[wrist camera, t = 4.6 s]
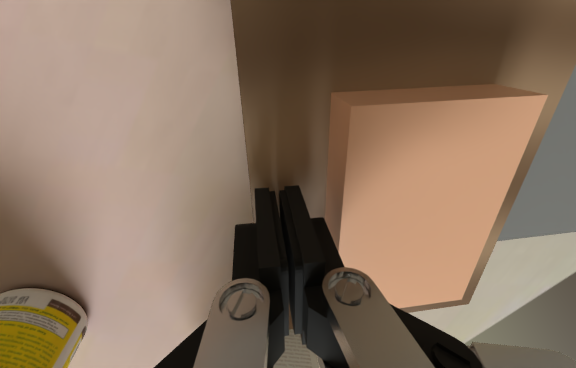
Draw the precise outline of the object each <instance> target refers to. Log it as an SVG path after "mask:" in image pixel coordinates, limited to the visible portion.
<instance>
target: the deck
mask: <svg viewBox="0 0 576 368" xmlns="http://www.w3.org/2000/svg"><path fill="white" fill-rule="evenodd" d="M231 9H232V19H233V28H234V38H235V47H236V57H237V66H238V76H239V85H240V95H241V104H242V114H243V123H244V132H245V142H246V151H247V161H248V170H249V180H250V189H251V199H252V208H253V218H254V223H256V210H255V192H254V188H268V187H269V191H275V195H276V200H277V206H278V211H279V190H284V186H295V185H299V186H300V189H301V192H302V195H303V198H304V201H305V204H306V207H307V209H308V212H309V215H310V218H318V217H323V218H324V220H325V207H326V187H327V167H328V147H329V127H330V107H331V92H350V91H370V90H389V89H408V88H427V87H446V86H465V85H484V84H497V85H502V86H507V87H512V88H517V89H522V90H527V91H532V92H537V93H541V94H546V95H548V97H547V99H546V102H545V104H544V106H543V109H542V111H541V113H540V116H539V118H538V120H537V123H536V125H535V128H534V130H533V132H532V135H531V137H530V139H529V142H528V144H527V146H526V149H525V151H524V154H523V156H522V158H521V161H520V163H519V165H518V168H517V170H516V172H515V175H514V177H513V179H512V182H511V184H510V187H509V189H508V191H507V194H506V196H505V198H504V201H503V203H502V205H501V208H500V210H499V213H498V215H497V217H496V220H495V222H494V224H493V227H492V229H491V231H490V234H489V236H488V239H487V241H486V243H485V246H484V248H483V250H482V253H481V255H480V257H479V260H478V262H477V265H476V267H475V269H474V272H473V274H472V276H471V279H470V281H469V283H468V286H467V288H466V290H465V293H464V295H463V298H462V300H455V301H448V302H441V303H434V304H427V305H420V306H412V307H405V308H399V309H401V310H403V311H405V312H407V313H409V312H416V311H423V310H430V309H437V308H444V307H451V306H458V305H465V304H469V302H470V300H471V298H472V295H473V293H474V291H475V289H476V287H477V284H478V282H479V280H480V278H481V275H482V273H483V271H484V269H485V266H486V264H487V262H488V260H489V257H490V255H491V253H492V251H493V249H494V246H495V244H496V242H497V240H498V237H499V235H500V233H501V231H502V228H503V226H504V224H505V222H506V219H507V217H508V215H509V213H510V211H511V208H512V206H513V204H514V202H515V199H516V197H517V195H518V193H519V190H520V188H521V186H522V184H523V181H524V179H525V177H526V175H527V173H528V170H529V168H530V166H531V164H532V161H533V159H534V157H535V155H536V152H537V150H538V148H539V146H540V143H541V141H542V139H543V137H544V135H545V132H546V130H547V128H548V126H549V123H550V121H551V119H552V117H553V114H554V112H555V110H556V108H557V105H558V103H559V101H560V99H561V97H562V94H563V92H564V90H565V88H566V85H567V83H568V81H569V79H570V76H571V74H572V72H573V70H574V67H575V65H576V0H231ZM279 217H280V211H279ZM290 329H293V324H292V318H291V312H290V306H289V330H290Z"/></svg>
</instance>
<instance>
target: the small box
mask: <svg viewBox="0 0 576 368" xmlns="http://www.w3.org/2000/svg"><path fill="white" fill-rule="evenodd" d="M274 368H319V364H318V359H317V355H316V354H315V353H313V352H312V351H310V350H309V349H308V348H307V347H306V345H302V340H301V335H300V334H296V335H294V331H293V329H290V330H289V336H285V351H284V353H283V354H282V355H281V357H280V358H279V359H278V361H277V362H276V363H275V365H274Z"/></svg>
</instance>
